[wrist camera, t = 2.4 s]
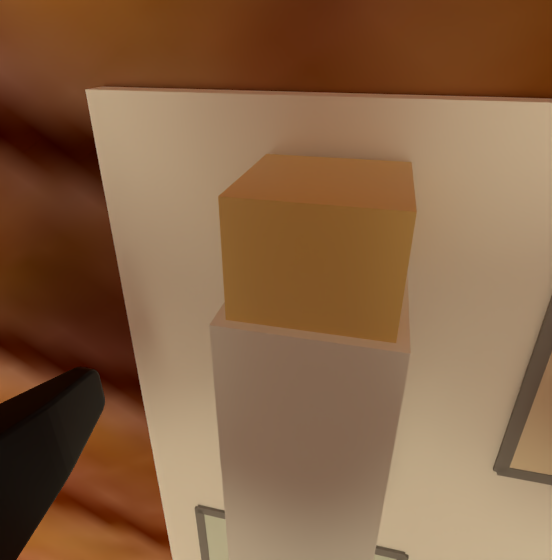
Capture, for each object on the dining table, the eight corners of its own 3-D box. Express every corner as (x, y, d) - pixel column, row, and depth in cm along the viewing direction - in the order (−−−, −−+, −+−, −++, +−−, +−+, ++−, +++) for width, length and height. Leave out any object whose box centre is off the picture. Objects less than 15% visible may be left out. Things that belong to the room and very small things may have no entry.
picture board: (688, 744, 15) (701, 772, 14) (189, 604, 19) (183, 622, 18) (1394, 120, 6) (1512, 130, 5) (102, 86, 9) (82, 90, 9)
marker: (371, 493, 12) (363, 615, 10) (264, 471, 13) (230, 580, 10) (422, 160, 8) (433, 218, 5) (258, 151, 9) (198, 200, 6)
